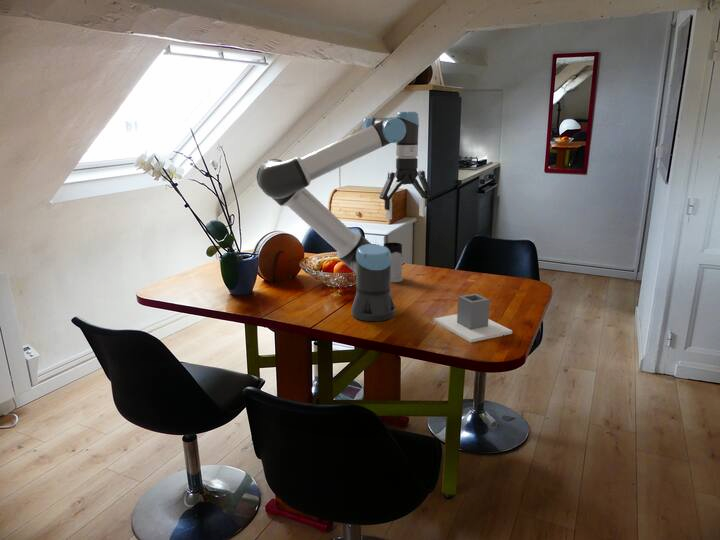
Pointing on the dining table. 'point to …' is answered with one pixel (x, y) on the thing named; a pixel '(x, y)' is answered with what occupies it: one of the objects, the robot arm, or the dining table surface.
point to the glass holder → (395, 261)
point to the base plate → (474, 334)
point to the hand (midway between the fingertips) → (405, 217)
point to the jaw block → (473, 311)
